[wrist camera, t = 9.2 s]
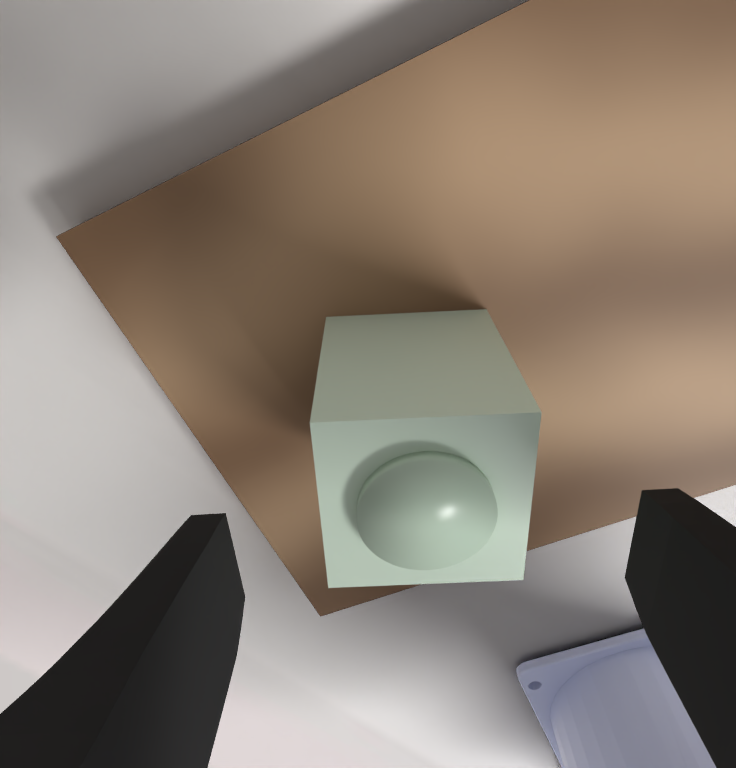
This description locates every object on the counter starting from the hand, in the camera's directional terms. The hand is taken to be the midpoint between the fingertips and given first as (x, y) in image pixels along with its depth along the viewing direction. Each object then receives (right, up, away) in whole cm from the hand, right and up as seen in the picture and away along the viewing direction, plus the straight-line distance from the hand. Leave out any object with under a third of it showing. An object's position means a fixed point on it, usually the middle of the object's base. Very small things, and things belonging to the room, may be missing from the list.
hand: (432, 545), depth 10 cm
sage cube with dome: (0, +3, +5) cm, 6 cm away
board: (+4, +5, +5) cm, 8 cm away
